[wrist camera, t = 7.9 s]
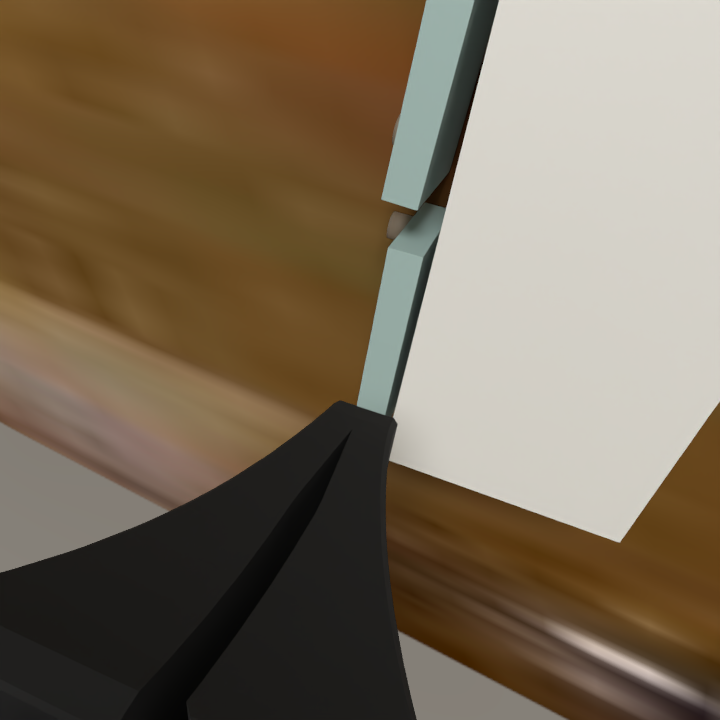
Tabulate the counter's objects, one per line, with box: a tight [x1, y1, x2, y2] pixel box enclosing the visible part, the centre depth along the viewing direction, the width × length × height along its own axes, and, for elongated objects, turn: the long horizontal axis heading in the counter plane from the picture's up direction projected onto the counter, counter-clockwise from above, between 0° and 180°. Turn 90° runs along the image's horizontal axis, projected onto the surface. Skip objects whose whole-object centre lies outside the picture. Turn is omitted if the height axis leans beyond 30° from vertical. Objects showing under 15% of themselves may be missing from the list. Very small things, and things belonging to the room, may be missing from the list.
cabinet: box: [357, 0, 720, 543], centre depth 15 cm, size 10×18×5 cm, turn 170°
